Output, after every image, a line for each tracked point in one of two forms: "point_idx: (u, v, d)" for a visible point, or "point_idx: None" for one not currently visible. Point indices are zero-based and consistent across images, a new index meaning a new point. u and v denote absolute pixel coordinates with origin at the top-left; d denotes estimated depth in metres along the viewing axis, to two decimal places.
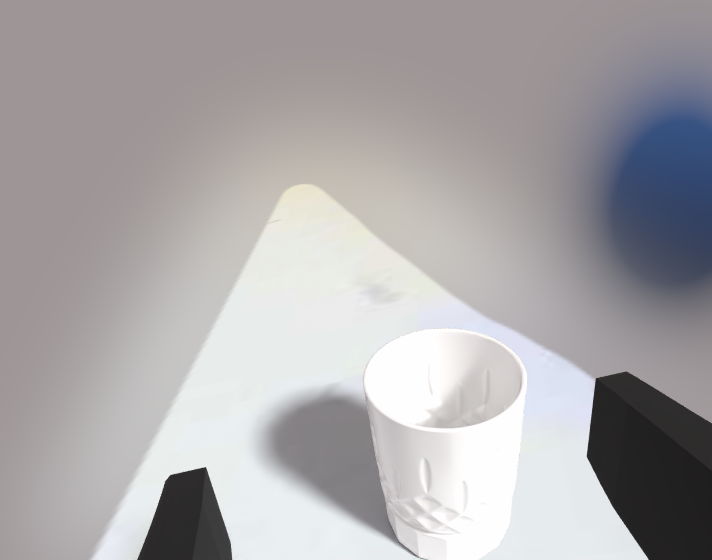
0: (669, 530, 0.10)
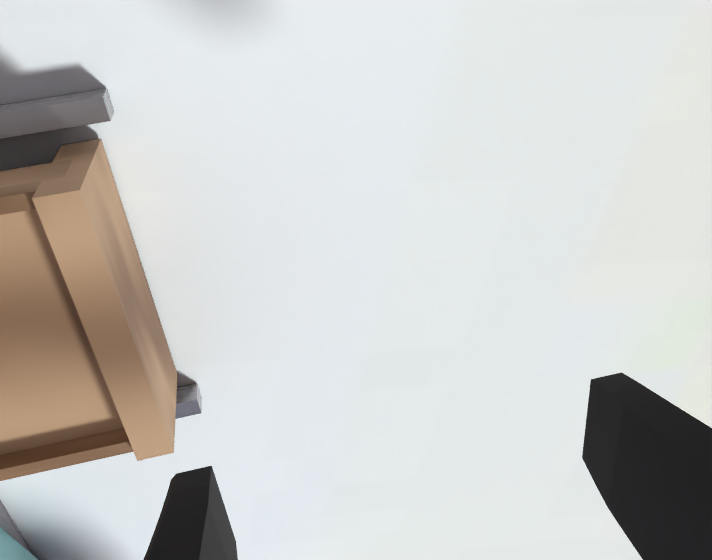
0: (664, 533, 0.10)
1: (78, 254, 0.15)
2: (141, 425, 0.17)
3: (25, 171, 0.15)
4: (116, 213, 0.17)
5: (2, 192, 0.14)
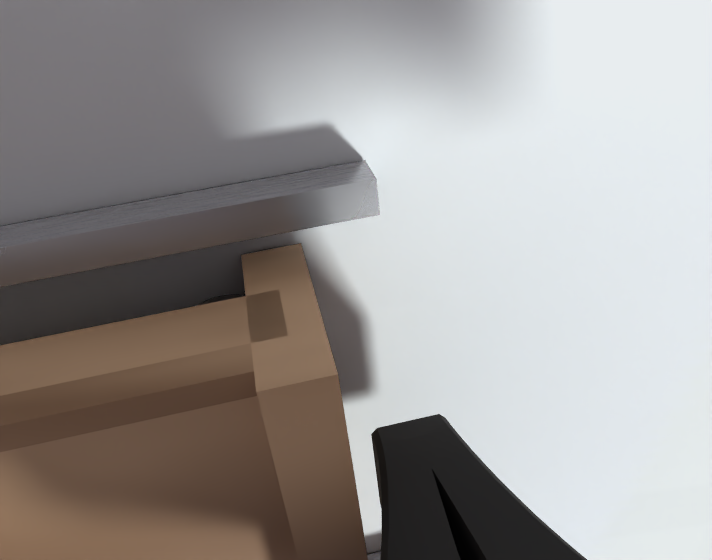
0: None
1: (314, 468, 0.09)
2: None
3: (209, 315, 0.09)
4: None
5: (191, 371, 0.08)
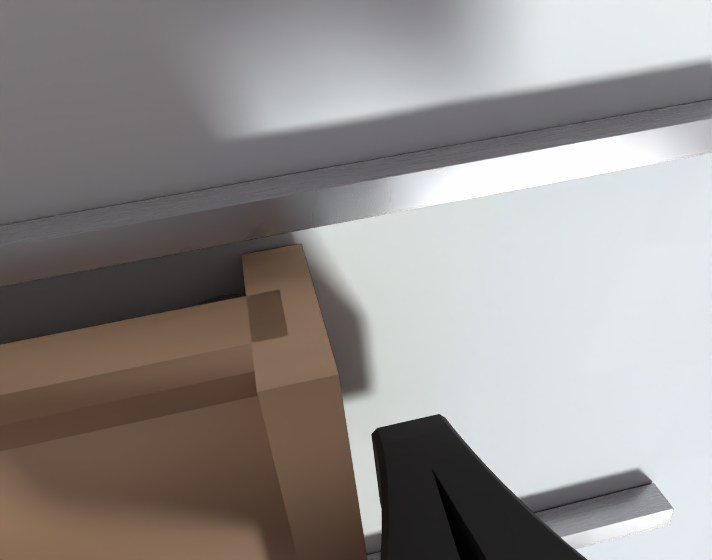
0: None
1: (314, 468, 0.09)
2: None
3: (209, 315, 0.09)
4: None
5: (191, 370, 0.08)
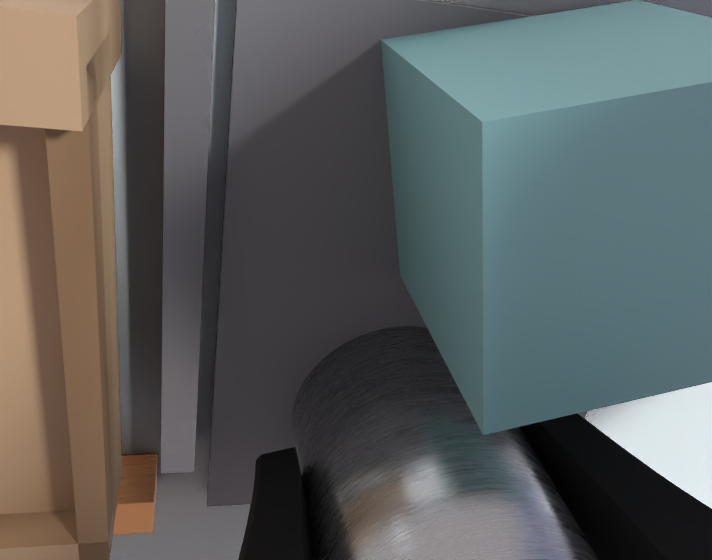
0: None
1: None
2: None
3: None
4: None
5: None
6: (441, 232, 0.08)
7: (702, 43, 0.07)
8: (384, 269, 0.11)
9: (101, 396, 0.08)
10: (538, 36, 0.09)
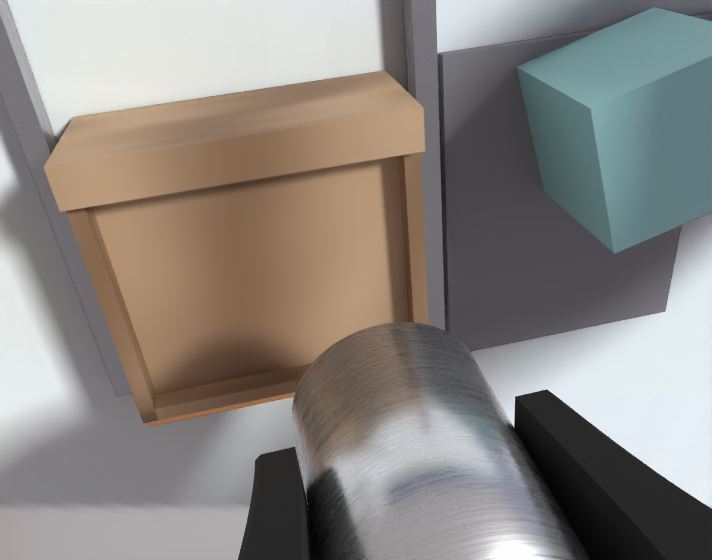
0: None
1: (125, 178, 0.14)
2: (371, 140, 0.14)
3: None
4: (139, 118, 0.16)
5: (77, 230, 0.15)
6: (573, 160, 0.16)
7: (687, 39, 0.15)
8: (535, 189, 0.20)
9: (425, 273, 0.17)
10: (602, 48, 0.16)
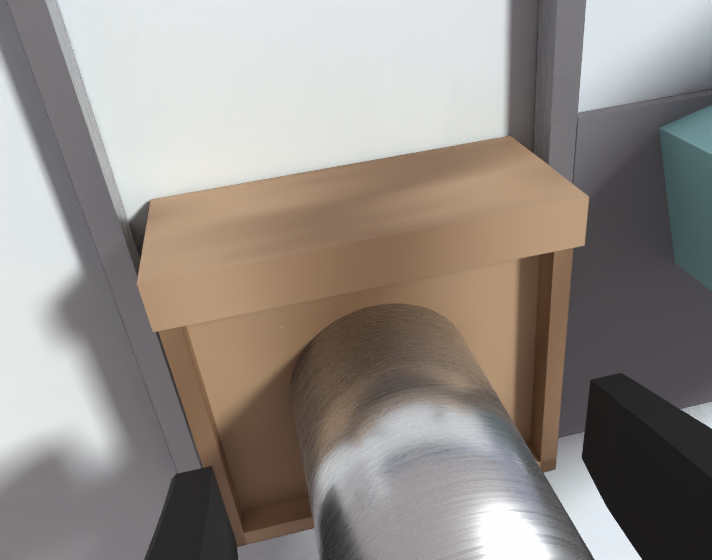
0: (664, 533, 0.10)
1: (233, 291, 0.11)
2: (524, 236, 0.12)
3: None
4: (233, 203, 0.13)
5: (166, 345, 0.12)
6: None
7: None
8: (665, 260, 0.17)
9: (561, 374, 0.14)
10: None
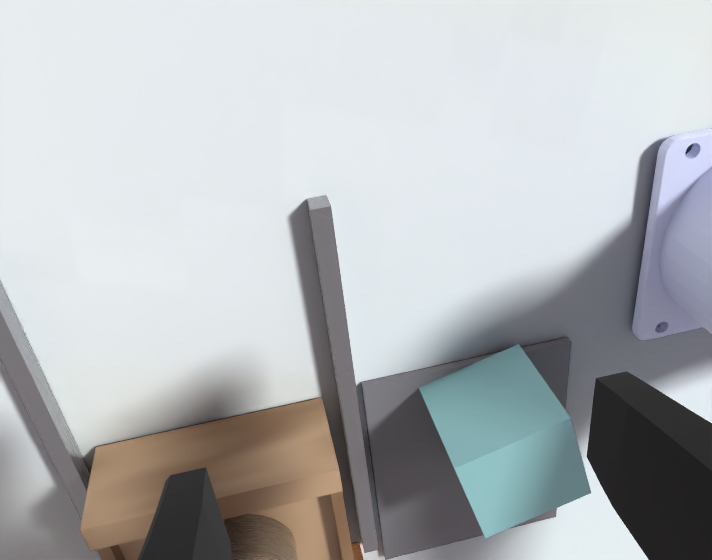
0: (670, 531, 0.10)
1: (134, 529, 0.20)
2: (304, 490, 0.21)
3: None
4: (143, 456, 0.22)
5: None
6: None
7: (528, 402, 0.22)
8: (441, 454, 0.26)
9: (351, 547, 0.23)
10: (476, 389, 0.23)
